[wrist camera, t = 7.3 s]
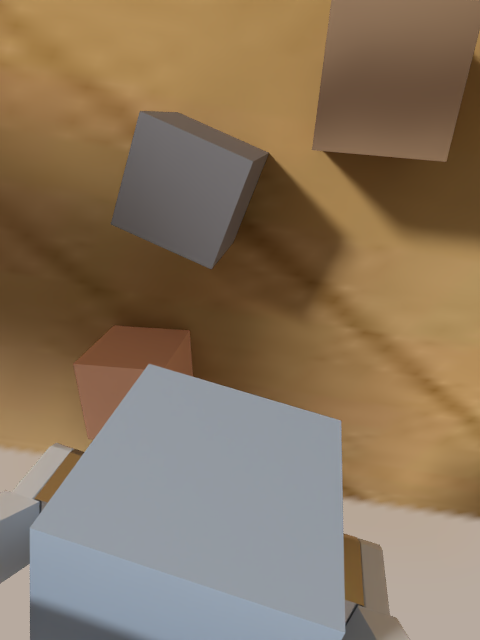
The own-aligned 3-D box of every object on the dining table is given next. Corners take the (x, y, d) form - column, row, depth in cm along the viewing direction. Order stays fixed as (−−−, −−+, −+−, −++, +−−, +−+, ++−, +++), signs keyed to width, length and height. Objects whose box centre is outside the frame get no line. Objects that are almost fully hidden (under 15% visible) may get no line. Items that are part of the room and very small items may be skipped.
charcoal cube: (178, 112, 22) (140, 110, 18) (269, 153, 22) (253, 161, 18) (151, 205, 25) (110, 224, 20) (233, 241, 25) (211, 269, 20)
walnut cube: (332, 22, 20) (332, -6, 15) (450, 28, 19) (486, 0, 15) (316, 143, 22) (311, 150, 17) (422, 152, 21) (446, 161, 17)
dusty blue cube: (149, 363, 11) (29, 527, 7) (341, 420, 11) (345, 632, 7) (129, 498, 14) (30, 687, 9) (288, 549, 13) (264, 770, 9)
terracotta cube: (114, 324, 28) (73, 363, 24) (190, 329, 27) (162, 370, 23) (124, 391, 30) (88, 438, 26) (195, 398, 30) (170, 448, 25)
